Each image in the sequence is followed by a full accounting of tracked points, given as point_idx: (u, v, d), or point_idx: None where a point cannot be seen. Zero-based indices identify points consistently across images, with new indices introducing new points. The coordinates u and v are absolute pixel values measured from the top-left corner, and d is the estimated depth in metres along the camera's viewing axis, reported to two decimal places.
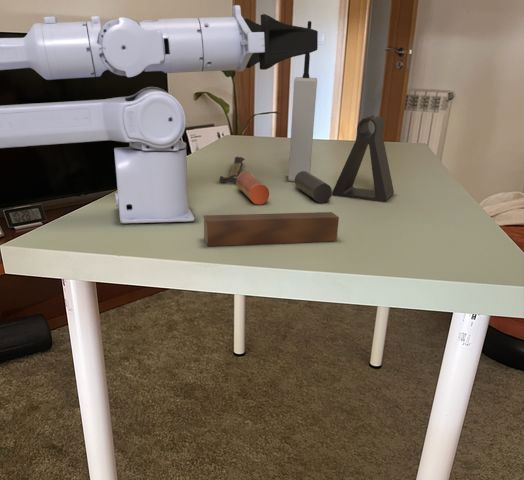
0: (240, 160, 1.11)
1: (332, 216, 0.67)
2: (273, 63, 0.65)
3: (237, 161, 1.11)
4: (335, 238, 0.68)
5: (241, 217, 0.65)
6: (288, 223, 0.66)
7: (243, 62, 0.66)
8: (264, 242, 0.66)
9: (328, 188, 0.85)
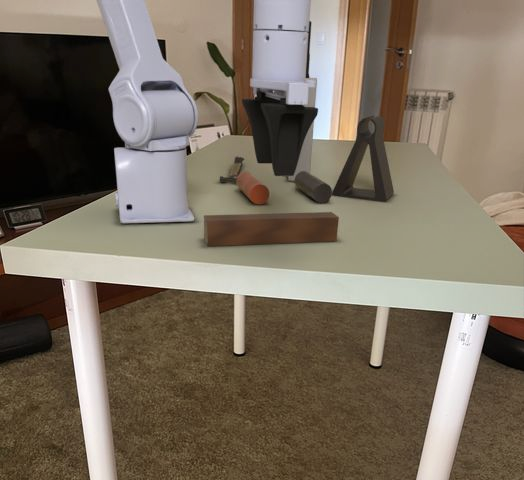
0: (240, 160, 1.11)
1: (332, 216, 0.67)
2: (271, 117, 0.55)
3: (237, 161, 1.11)
4: (335, 238, 0.68)
5: (241, 217, 0.65)
6: (288, 223, 0.66)
7: (268, 82, 0.56)
8: (264, 242, 0.66)
9: (328, 188, 0.85)
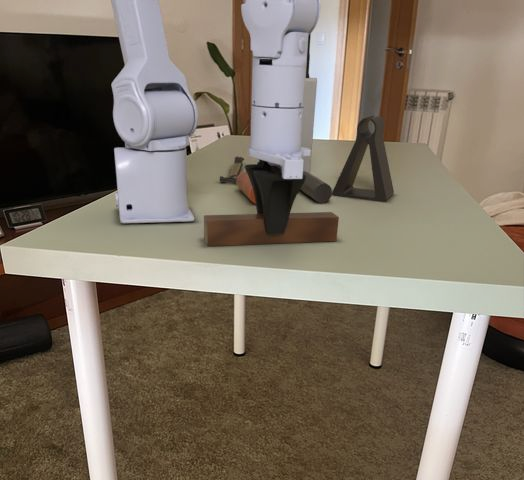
0: (240, 160, 1.11)
1: (332, 216, 0.67)
2: (263, 185, 0.60)
3: (237, 161, 1.11)
4: (335, 238, 0.68)
5: (241, 217, 0.65)
6: (288, 223, 0.66)
7: (265, 155, 0.59)
8: (264, 242, 0.66)
9: (328, 188, 0.85)
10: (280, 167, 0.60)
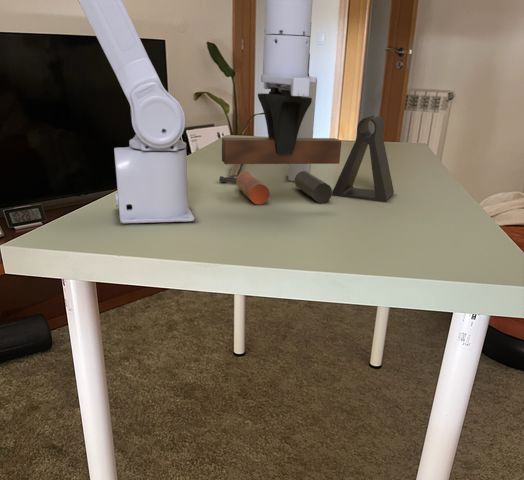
0: None
1: (335, 140, 0.75)
2: (274, 105, 0.69)
3: None
4: (338, 160, 0.76)
5: (255, 139, 0.73)
6: (296, 145, 0.74)
7: (276, 78, 0.67)
8: (275, 162, 0.74)
9: (328, 188, 0.85)
10: (289, 89, 0.68)
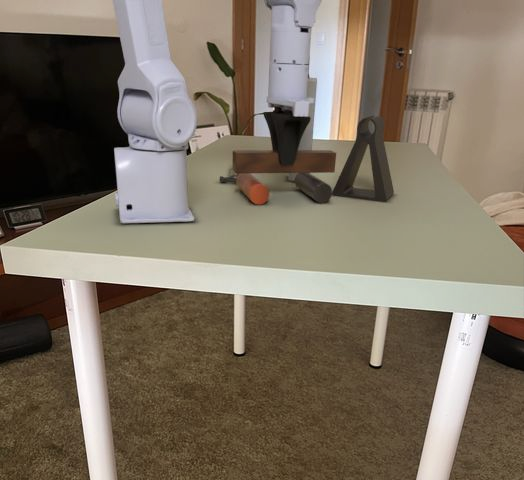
0: None
1: (331, 152, 0.87)
2: (278, 123, 0.80)
3: None
4: (334, 169, 0.88)
5: (261, 151, 0.85)
6: (297, 156, 0.85)
7: (280, 100, 0.79)
8: (279, 171, 0.86)
9: (328, 188, 0.85)
10: (291, 110, 0.80)
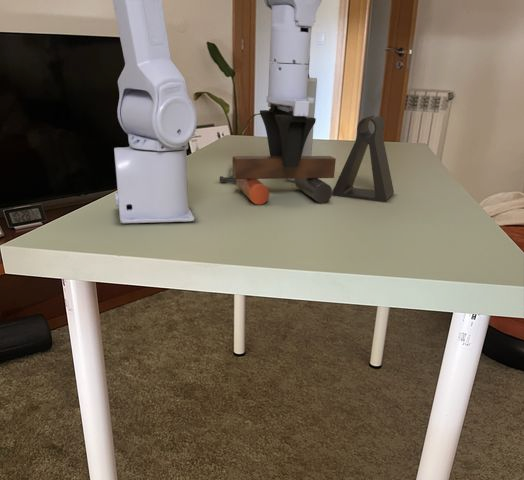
0: None
1: (330, 158, 0.87)
2: (282, 125, 0.78)
3: None
4: (333, 175, 0.88)
5: (261, 157, 0.85)
6: None
7: (280, 100, 0.79)
8: (278, 177, 0.86)
9: (328, 188, 0.85)
10: (291, 109, 0.80)
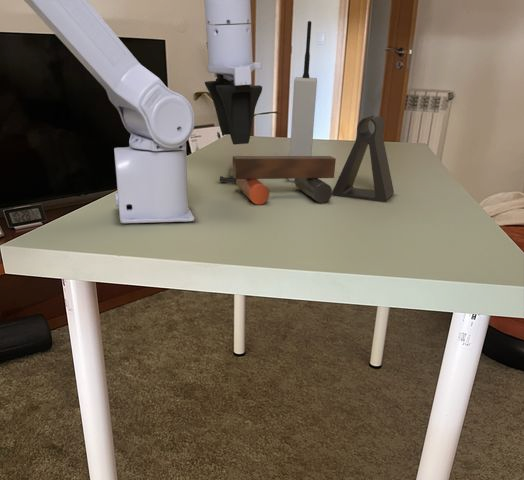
0: None
1: (330, 158, 0.87)
2: (224, 97, 0.68)
3: None
4: (333, 175, 0.88)
5: (261, 157, 0.85)
6: (297, 162, 0.86)
7: (220, 68, 0.69)
8: (278, 177, 0.86)
9: (328, 188, 0.85)
10: (234, 78, 0.70)
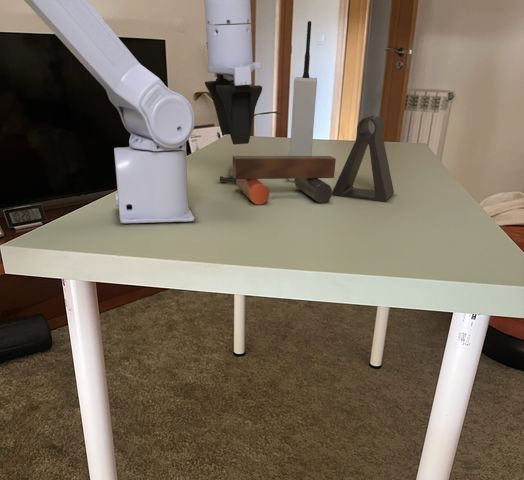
0: None
1: (330, 158, 0.87)
2: (224, 97, 0.68)
3: None
4: (333, 175, 0.88)
5: (261, 157, 0.85)
6: (297, 162, 0.86)
7: (220, 68, 0.69)
8: (278, 177, 0.86)
9: (328, 188, 0.85)
10: (234, 78, 0.70)
